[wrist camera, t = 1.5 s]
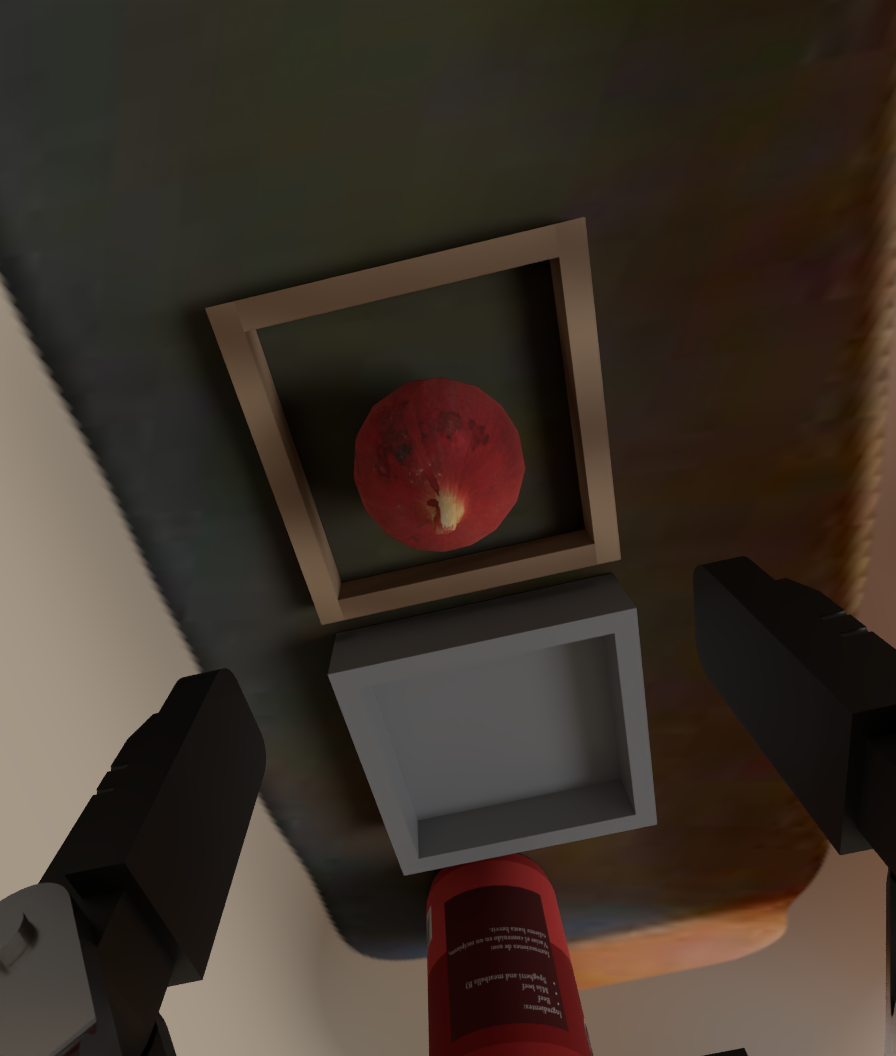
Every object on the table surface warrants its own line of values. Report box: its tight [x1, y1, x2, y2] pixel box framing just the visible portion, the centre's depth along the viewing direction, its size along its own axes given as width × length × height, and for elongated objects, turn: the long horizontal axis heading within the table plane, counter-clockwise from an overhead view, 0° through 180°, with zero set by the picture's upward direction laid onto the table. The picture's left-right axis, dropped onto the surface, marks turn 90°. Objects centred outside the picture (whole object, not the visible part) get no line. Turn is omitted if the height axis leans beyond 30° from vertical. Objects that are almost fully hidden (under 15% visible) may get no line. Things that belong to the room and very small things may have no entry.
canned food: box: [426, 853, 593, 1056], centre depth 30 cm, size 8×8×11 cm
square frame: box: [205, 217, 621, 625], centre depth 22 cm, size 13×13×2 cm
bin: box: [328, 573, 657, 876], centre depth 28 cm, size 13×13×3 cm
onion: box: [354, 377, 525, 552], centre depth 19 cm, size 6×6×8 cm
